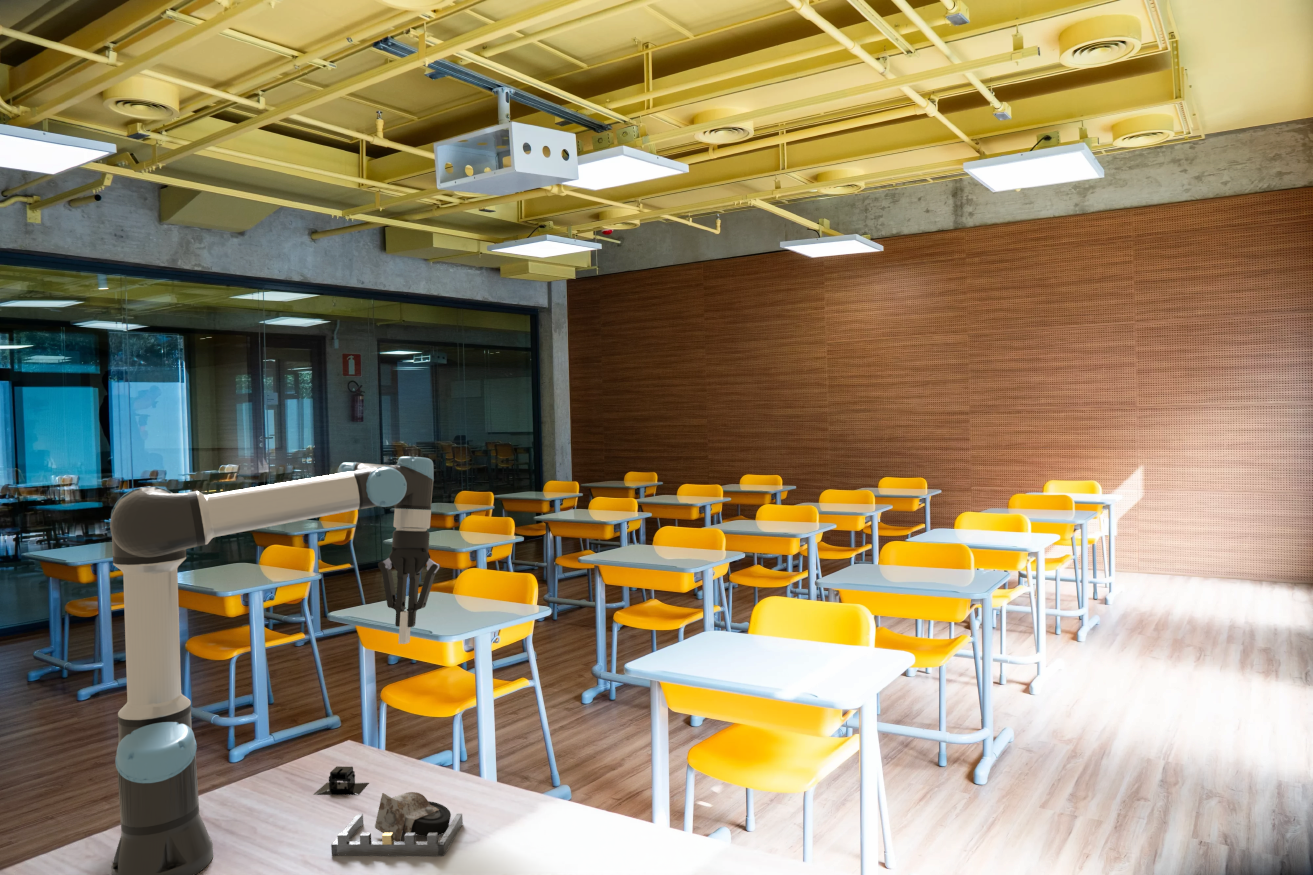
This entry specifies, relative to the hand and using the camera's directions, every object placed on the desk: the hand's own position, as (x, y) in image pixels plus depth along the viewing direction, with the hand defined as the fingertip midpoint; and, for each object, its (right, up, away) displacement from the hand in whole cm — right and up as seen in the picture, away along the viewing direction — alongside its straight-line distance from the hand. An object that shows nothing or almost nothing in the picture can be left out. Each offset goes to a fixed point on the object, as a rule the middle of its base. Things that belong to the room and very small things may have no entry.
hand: (404, 642), depth 178 cm
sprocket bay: (+7, -29, -25) cm, 39 cm away
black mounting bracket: (-12, -30, -3) cm, 32 cm away
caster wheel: (+9, -30, -22) cm, 38 cm away
